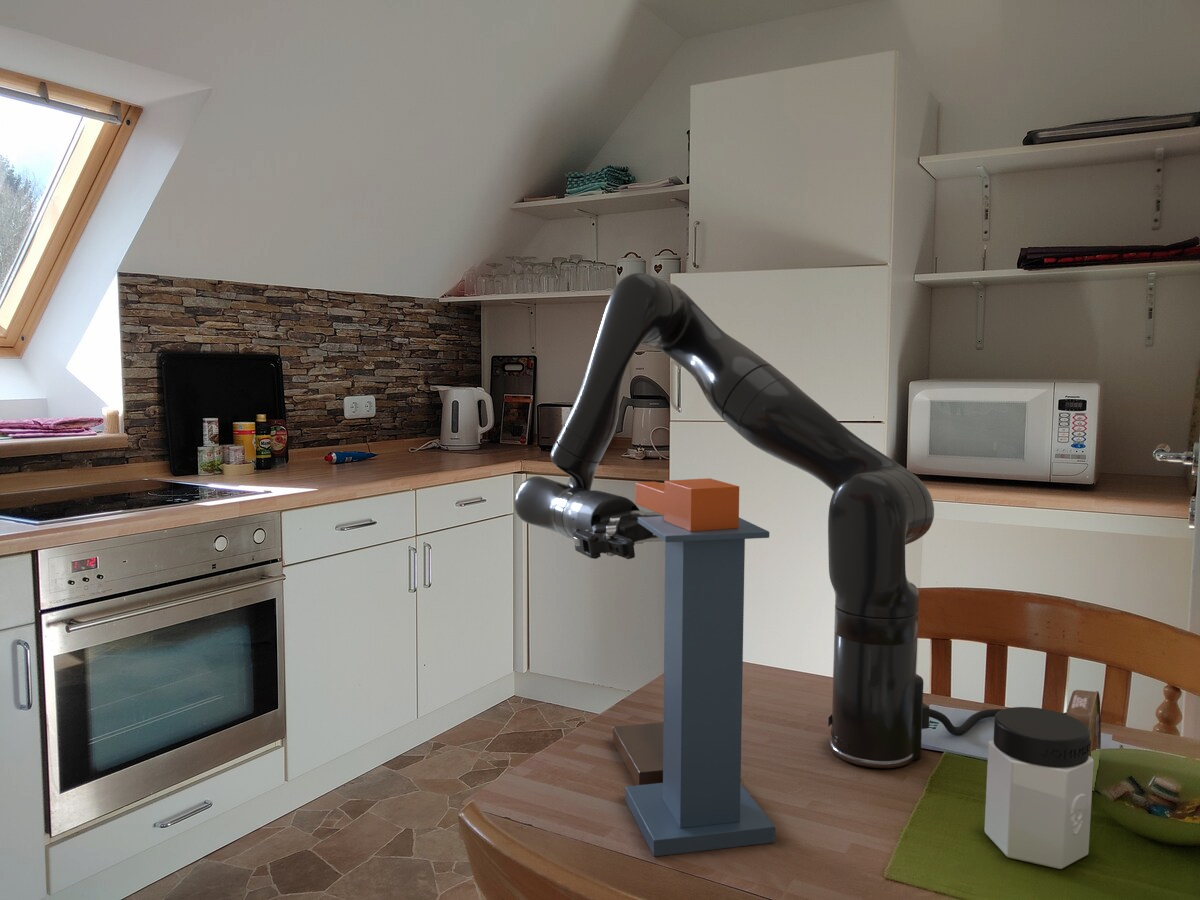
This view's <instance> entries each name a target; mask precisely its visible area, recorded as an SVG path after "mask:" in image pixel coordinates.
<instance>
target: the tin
mask: <svg viewBox="0 0 1200 900" xmlns="http://www.w3.org/2000/svg"><path fill="white" fill-rule="evenodd" d="M1066 712H1067V713H1066ZM1066 712H1065V713H1066V715H1069V716H1072V717H1074V718H1076V719H1078V720H1080V721H1081V722H1083V723H1084V724H1085V725H1086V726H1087V727H1088V728H1089V730H1090V740H1091V744H1090V751H1089V756H1090V757H1091V751H1093V750H1096V749H1101V748H1102V725H1101V724H1102V718H1101V717H1102V716H1101V697H1100V692H1099V691H1098V690H1095V691H1090V690H1082V689H1075V690H1073V691H1072V693H1071V696H1070V699H1069V701H1068V706H1067V709H1066Z"/></svg>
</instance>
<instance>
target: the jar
mask: <svg viewBox="0 0 1200 900" xmlns="http://www.w3.org/2000/svg"><path fill="white" fill-rule="evenodd" d="M1002 709H1003V710H1001V711H999V712H998V713H997V714H996V715H995V717H994V721H993V722H994V723H993V738H992V739H990V740H989V741H987V743H988V745H987V748H988V749H987V765H986V785H985V786H986V787H985V805H984V806H985V807H984V809H985V810H984V828H983V829H984V830H983V831H984V834H985V835H986V836H987V837H988V838H989V840H991V841H992V842H993V843H994V845H996V847H997V848H998V849H999V850H1000V851H1001V852H1002V853H1003V854H1004V855H1005V856H1006V858H1008V859H1013V860H1016V861H1022V862H1025V863H1030V864H1035V865H1039V866H1044V867H1049V868H1052V869H1057V870H1063V869H1065V868H1066V867H1068V866H1070V865H1072V864H1074V863H1076V862H1077V861H1079V860H1081V859H1083V858H1084V857H1087V856H1088V855H1089V854H1090V853H1089V852H1090V836H1091V835H1090V834H1091V818H1092V803H1093V802H1092V800H1093V792H1092V786H1093V769H1094V759H1093V758H1092V757H1090V756H1089V751H1090V744H1091V740H1090V730H1089V728H1088V727H1087V726H1086V725H1085V724H1084V723H1083V722H1081V721H1080V720H1078V719H1076V718H1074V717H1072V716H1069V715H1066V714H1063V713H1064V712H1059V711H1056V710H1052V709H1048V708H1040V707H1031V706H1013V707H1008V708H1007V707H1006V708H1002Z"/></svg>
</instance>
